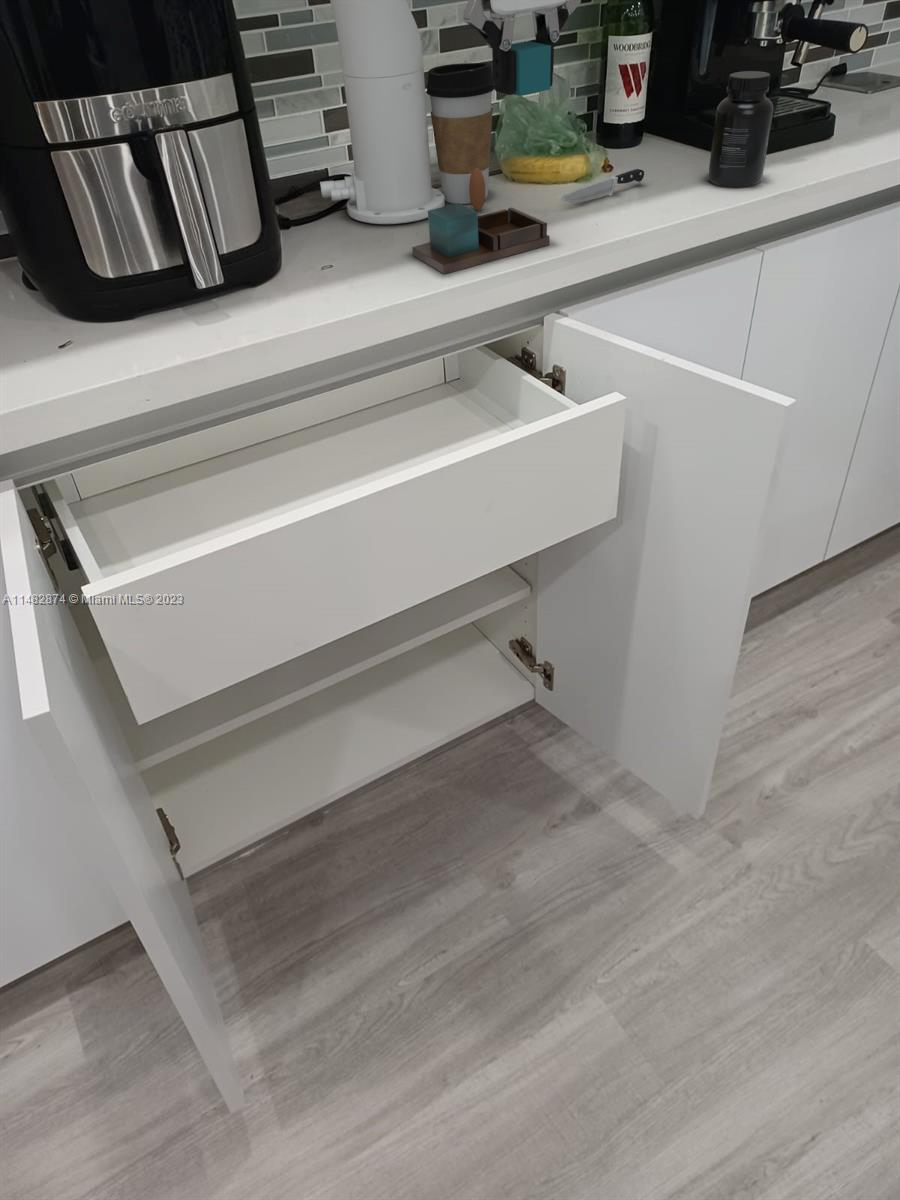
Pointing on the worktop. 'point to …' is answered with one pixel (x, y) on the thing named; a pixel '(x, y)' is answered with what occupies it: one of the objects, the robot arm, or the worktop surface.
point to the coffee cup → (461, 124)
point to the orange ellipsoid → (477, 189)
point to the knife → (602, 187)
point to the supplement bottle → (741, 131)
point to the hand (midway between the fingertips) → (523, 86)
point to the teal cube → (532, 67)
